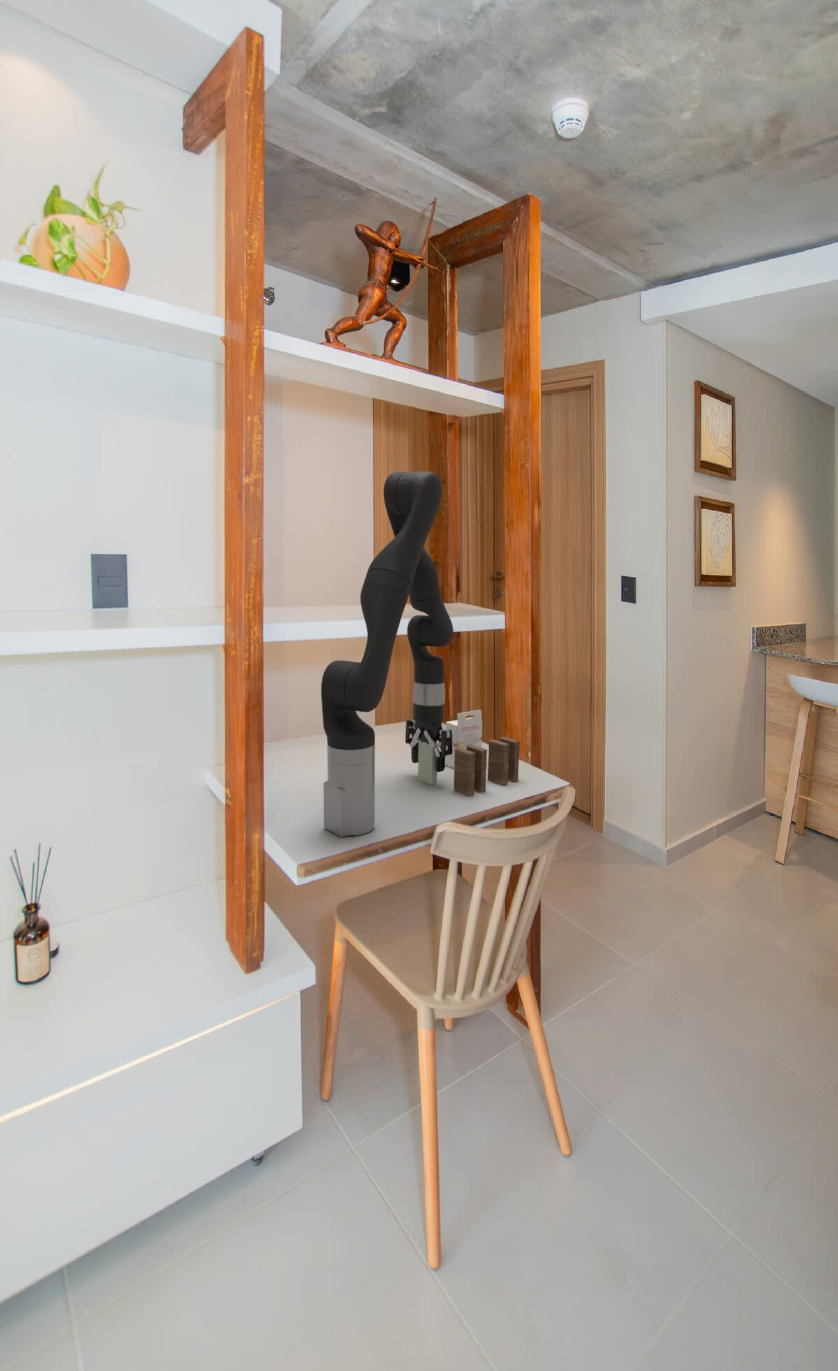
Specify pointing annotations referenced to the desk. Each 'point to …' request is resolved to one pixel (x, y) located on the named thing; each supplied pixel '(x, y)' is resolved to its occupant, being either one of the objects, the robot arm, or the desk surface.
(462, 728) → the ink cartridge box
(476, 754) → the domino
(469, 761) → the domino
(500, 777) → the domino
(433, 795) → the desk surface
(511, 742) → the domino
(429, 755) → the gap domino
